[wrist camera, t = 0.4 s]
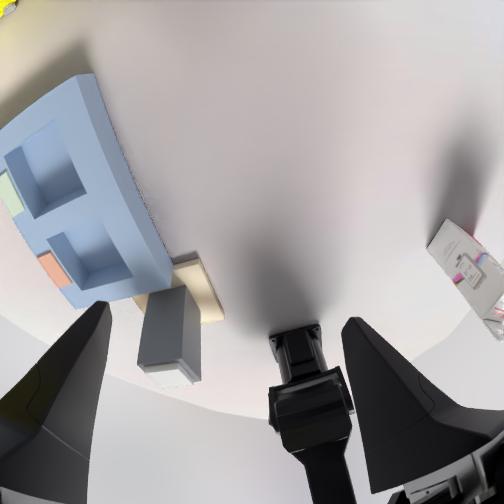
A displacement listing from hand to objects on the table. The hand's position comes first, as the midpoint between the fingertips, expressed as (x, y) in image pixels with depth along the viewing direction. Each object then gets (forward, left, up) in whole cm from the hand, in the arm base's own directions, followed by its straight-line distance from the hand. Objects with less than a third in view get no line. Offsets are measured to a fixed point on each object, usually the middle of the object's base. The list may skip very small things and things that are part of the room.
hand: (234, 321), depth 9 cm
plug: (-11, +8, -13) cm, 19 cm away
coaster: (-11, +8, -14) cm, 19 cm away
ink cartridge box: (-14, -25, -14) cm, 32 cm away
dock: (+2, +12, -14) cm, 18 cm away
